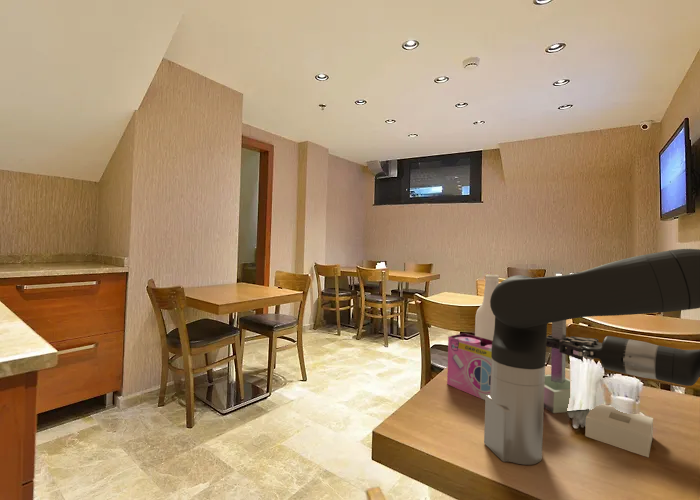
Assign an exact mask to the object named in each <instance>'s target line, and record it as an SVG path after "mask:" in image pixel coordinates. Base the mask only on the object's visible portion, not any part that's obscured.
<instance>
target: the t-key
mask: <svg viewBox="0 0 700 500" xmlns="http://www.w3.org/2000/svg"><path fill="white" fill-rule="evenodd" d="M551 335H552V338H554V339H559V340H566V337H567V320H563V321H558V322H552V323H551ZM565 348H566V346H565ZM566 349H567V348H566ZM550 360H551V361H550V362H551V365H550V366H551V367H550V369H551V370H550V371H551V373H550V374H551V381H554V382H558V383H561V384H562V383H563V382H565V378H566V354H563V353H560V352H559V349H556V348H552V347H551V359H550Z"/></svg>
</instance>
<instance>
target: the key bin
mask: <svg viewBox="0 0 700 500" xmlns="http://www.w3.org/2000/svg"><path fill="white" fill-rule="evenodd" d="M570 380H571V379H570V378H567V377H565V382H563V383H562V384H561V383H558V382H554V381H551V373H550V374H545V386H544V409H546V410H547V411H549V412H551V413H552V414H557V413H558V414H560V413H568V412H567V408H568V404H569V398H570Z"/></svg>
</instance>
